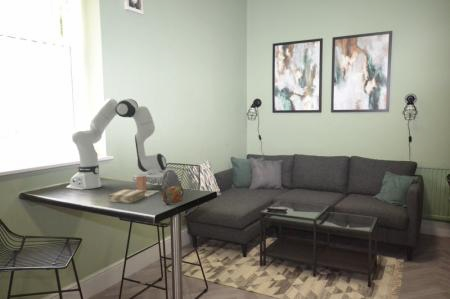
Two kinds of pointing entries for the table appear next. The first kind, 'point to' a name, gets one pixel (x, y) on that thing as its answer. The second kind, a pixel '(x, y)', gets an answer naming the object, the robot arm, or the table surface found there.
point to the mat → (150, 192)
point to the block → (141, 182)
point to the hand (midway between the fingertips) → (142, 180)
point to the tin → (172, 194)
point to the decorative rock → (170, 180)
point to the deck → (127, 196)
